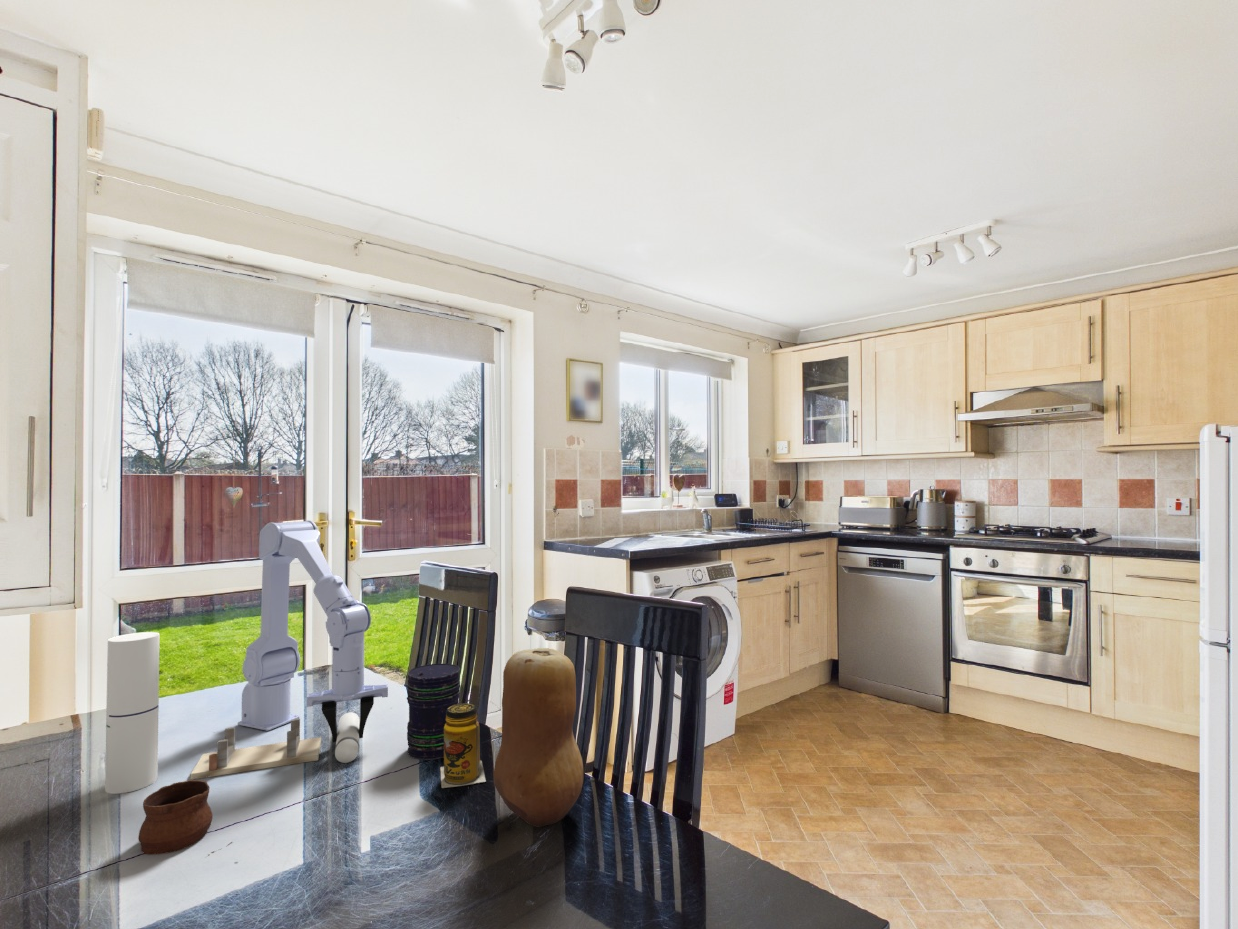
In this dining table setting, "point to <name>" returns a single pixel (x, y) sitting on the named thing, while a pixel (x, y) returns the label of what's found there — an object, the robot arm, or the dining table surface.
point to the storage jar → (430, 707)
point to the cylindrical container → (132, 712)
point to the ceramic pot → (175, 817)
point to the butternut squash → (539, 737)
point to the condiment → (461, 747)
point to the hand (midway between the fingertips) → (348, 738)
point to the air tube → (347, 738)
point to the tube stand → (256, 754)
